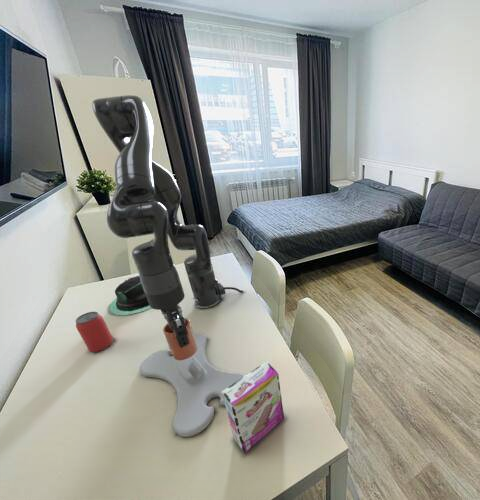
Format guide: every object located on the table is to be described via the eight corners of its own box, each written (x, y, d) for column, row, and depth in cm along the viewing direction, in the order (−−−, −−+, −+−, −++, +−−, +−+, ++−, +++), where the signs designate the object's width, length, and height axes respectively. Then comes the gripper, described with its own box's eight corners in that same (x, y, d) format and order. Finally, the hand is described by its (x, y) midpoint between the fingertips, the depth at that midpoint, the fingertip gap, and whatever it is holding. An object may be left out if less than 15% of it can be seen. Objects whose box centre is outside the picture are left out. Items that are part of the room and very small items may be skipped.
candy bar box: (245, 456, 59) (231, 407, 52) (233, 439, 62) (219, 391, 55) (286, 418, 66) (278, 371, 59) (274, 405, 69) (266, 359, 62)
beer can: (100, 354, 86) (84, 325, 81) (83, 351, 88) (67, 322, 82) (118, 339, 92) (105, 311, 87) (103, 337, 93) (88, 309, 88)
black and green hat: (147, 313, 103) (94, 317, 103) (175, 306, 122) (130, 309, 121) (146, 274, 104) (93, 278, 104) (174, 273, 123) (129, 276, 122)
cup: (193, 340, 77) (185, 315, 73) (200, 351, 73) (192, 326, 69) (170, 351, 73) (160, 325, 70) (176, 364, 69) (166, 337, 65)
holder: (183, 446, 61) (177, 433, 59) (137, 366, 81) (131, 354, 79) (255, 389, 74) (252, 376, 72) (199, 332, 94) (196, 321, 92)
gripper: (188, 291, 61) (205, 346, 69) (171, 268, 71) (188, 319, 78) (150, 304, 57) (172, 362, 64) (138, 279, 67) (158, 331, 74)
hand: (181, 338), depth 71 cm, fingers closed on cup, 6 cm apart
